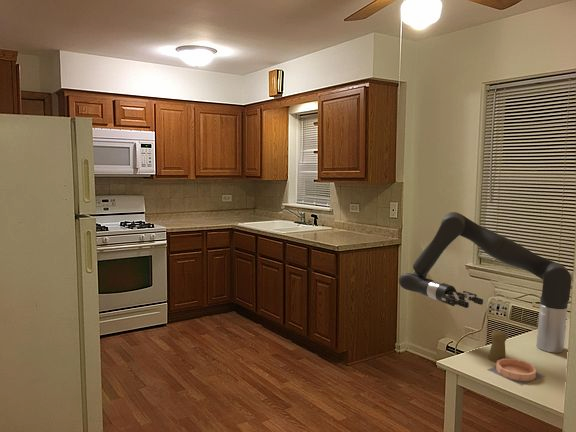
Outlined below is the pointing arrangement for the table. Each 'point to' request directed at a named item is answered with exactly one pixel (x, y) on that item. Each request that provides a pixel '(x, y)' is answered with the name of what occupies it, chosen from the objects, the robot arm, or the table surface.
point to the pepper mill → (498, 346)
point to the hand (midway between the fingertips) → (475, 303)
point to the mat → (515, 380)
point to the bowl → (516, 369)
